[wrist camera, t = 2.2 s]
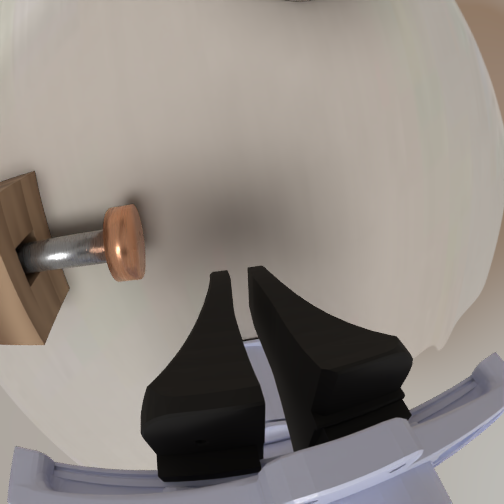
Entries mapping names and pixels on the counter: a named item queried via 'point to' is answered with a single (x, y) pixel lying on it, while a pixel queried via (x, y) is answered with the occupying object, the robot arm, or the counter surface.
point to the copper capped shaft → (93, 247)
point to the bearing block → (11, 272)
